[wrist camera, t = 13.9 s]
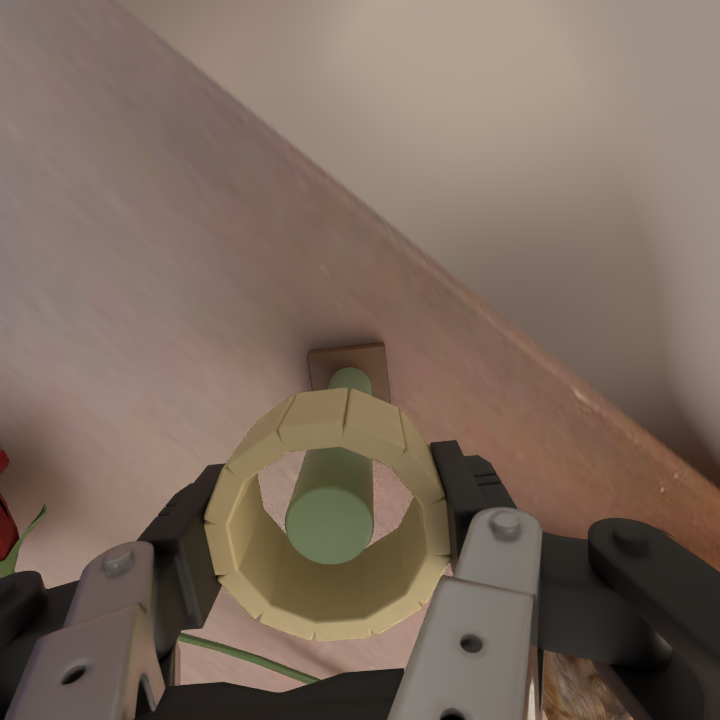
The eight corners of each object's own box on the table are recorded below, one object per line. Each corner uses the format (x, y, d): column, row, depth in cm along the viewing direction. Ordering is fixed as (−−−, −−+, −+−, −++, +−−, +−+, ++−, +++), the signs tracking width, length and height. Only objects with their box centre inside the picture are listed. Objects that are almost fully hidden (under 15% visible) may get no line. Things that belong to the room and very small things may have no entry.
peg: (319, 420, 24) (262, 602, 11) (309, 350, 23) (233, 460, 10) (391, 413, 23) (417, 589, 11) (384, 341, 23) (402, 443, 10)
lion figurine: (496, 620, 26) (560, 799, 18) (485, 545, 25) (547, 696, 16) (744, 585, 25) (941, 755, 17) (744, 506, 24) (956, 643, 16)
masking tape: (257, 574, 13) (230, 649, 10) (222, 400, 12) (181, 438, 9) (441, 558, 13) (459, 632, 10) (425, 378, 12) (440, 411, 9)
